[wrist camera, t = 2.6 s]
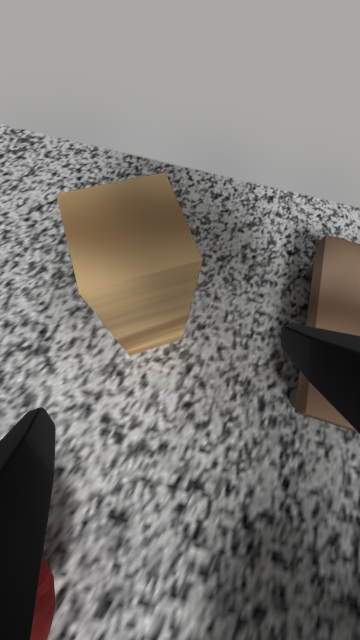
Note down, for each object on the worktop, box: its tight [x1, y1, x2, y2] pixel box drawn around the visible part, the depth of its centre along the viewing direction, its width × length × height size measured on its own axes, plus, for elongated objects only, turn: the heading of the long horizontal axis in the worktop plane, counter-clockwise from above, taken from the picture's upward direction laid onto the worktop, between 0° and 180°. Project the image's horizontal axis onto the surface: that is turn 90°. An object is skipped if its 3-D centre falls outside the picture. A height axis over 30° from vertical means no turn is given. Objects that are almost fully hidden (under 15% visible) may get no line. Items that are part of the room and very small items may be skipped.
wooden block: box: [56, 172, 203, 356], centre depth 16 cm, size 5×5×13 cm
